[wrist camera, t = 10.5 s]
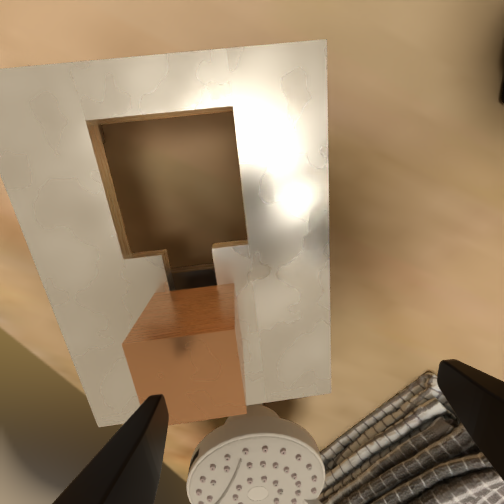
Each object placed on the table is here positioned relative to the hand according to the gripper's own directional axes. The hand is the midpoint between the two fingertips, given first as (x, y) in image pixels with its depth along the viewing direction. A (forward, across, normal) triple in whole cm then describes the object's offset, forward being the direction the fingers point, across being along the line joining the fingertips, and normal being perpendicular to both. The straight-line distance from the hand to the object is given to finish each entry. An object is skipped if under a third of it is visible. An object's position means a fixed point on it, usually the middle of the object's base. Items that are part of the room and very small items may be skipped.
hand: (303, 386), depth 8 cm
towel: (+12, -12, +23) cm, 29 cm away
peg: (+9, +4, +1) cm, 10 cm away
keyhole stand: (+11, +4, -2) cm, 12 cm away
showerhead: (+12, +2, +14) cm, 18 cm away
